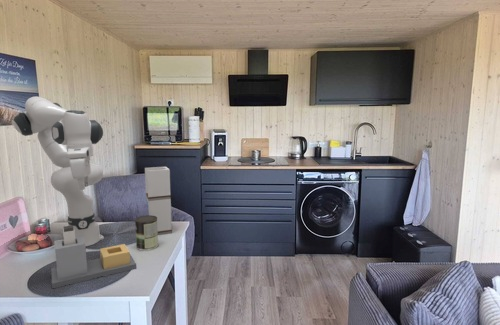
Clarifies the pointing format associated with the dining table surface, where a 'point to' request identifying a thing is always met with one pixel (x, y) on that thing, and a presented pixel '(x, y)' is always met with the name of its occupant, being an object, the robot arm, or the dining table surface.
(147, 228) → the coffee can
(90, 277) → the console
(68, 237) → the plug
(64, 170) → the robot arm
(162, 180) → the striped beige pillar
